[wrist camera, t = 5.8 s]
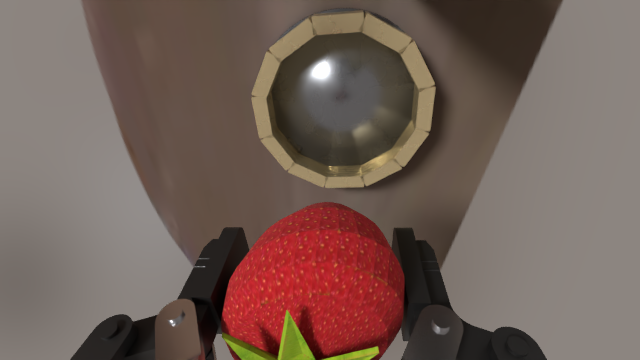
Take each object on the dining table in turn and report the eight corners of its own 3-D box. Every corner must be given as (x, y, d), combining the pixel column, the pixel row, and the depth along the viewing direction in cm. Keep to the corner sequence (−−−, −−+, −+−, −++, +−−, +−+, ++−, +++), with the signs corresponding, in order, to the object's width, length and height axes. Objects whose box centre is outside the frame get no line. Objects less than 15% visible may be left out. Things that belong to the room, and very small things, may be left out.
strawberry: (237, 227, 17) (130, 477, 8) (310, 119, 13) (244, 383, 5) (328, 271, 18) (312, 521, 10) (417, 186, 14) (512, 477, 6)
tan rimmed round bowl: (244, 15, 24) (232, 19, 22) (438, -1, 23) (449, 1, 20) (273, 175, 32) (267, 191, 30) (419, 171, 31) (425, 187, 28)
